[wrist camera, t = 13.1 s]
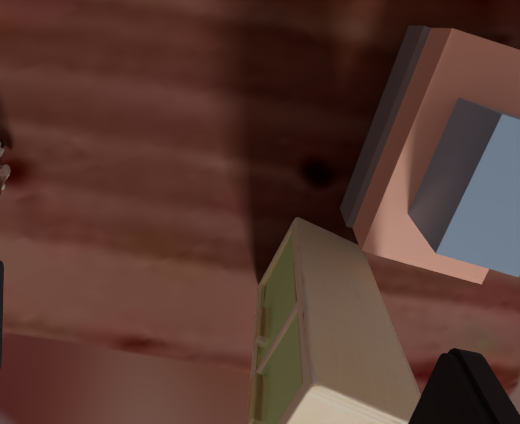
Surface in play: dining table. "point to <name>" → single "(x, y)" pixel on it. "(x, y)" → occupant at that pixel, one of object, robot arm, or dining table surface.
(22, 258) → the dining table surface
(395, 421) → the toy refrigerator
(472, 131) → the slate brick
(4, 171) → the bull figurine
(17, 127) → the dining table surface
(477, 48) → the pink and grey block
